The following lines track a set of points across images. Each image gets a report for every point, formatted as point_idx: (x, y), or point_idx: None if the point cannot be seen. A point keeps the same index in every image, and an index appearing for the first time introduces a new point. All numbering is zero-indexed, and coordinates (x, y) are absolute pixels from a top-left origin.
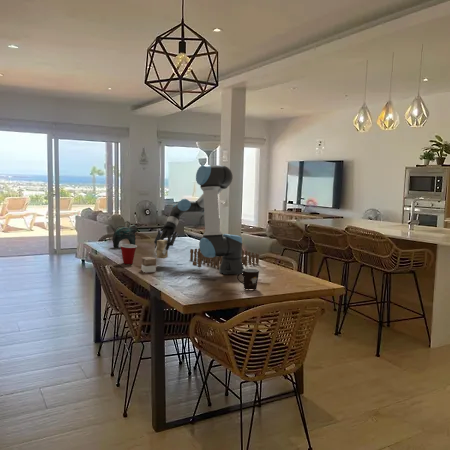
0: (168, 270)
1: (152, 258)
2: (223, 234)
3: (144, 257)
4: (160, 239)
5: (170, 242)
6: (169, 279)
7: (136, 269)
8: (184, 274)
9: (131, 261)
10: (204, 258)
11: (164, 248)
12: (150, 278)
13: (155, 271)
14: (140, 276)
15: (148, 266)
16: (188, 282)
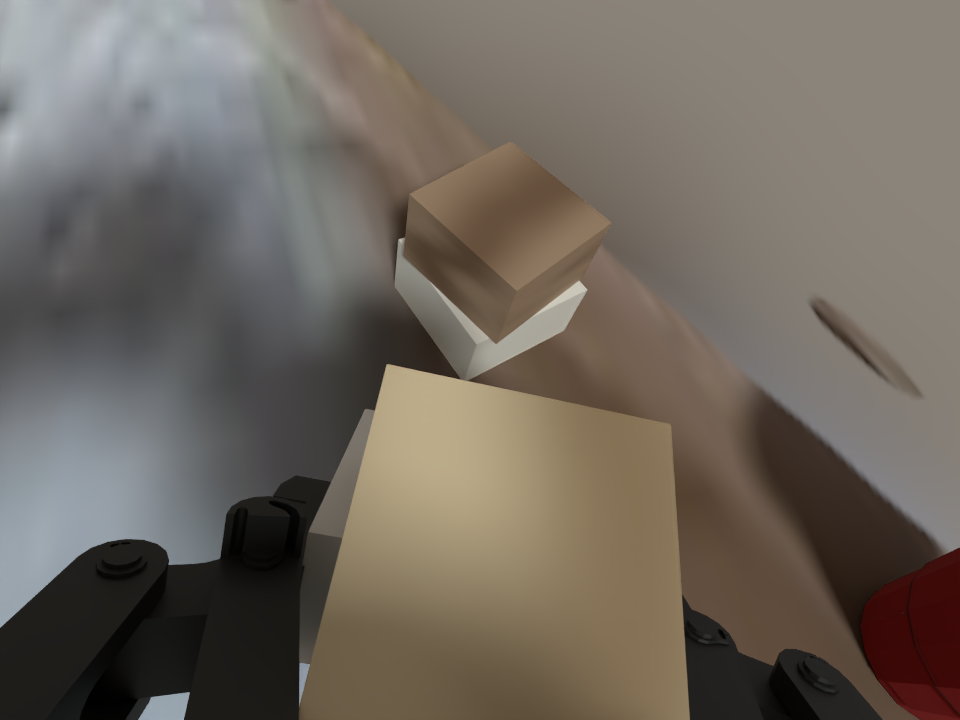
0: (260, 371)
1: (460, 201)
2: None
3: (585, 239)
4: None
5: (142, 578)
6: (202, 77)
7: (621, 344)
8: (38, 229)
9: (881, 617)
10: None
11: (362, 454)
12: (368, 94)
13: (396, 283)
14: (466, 135)
15: None
16: (23, 16)
